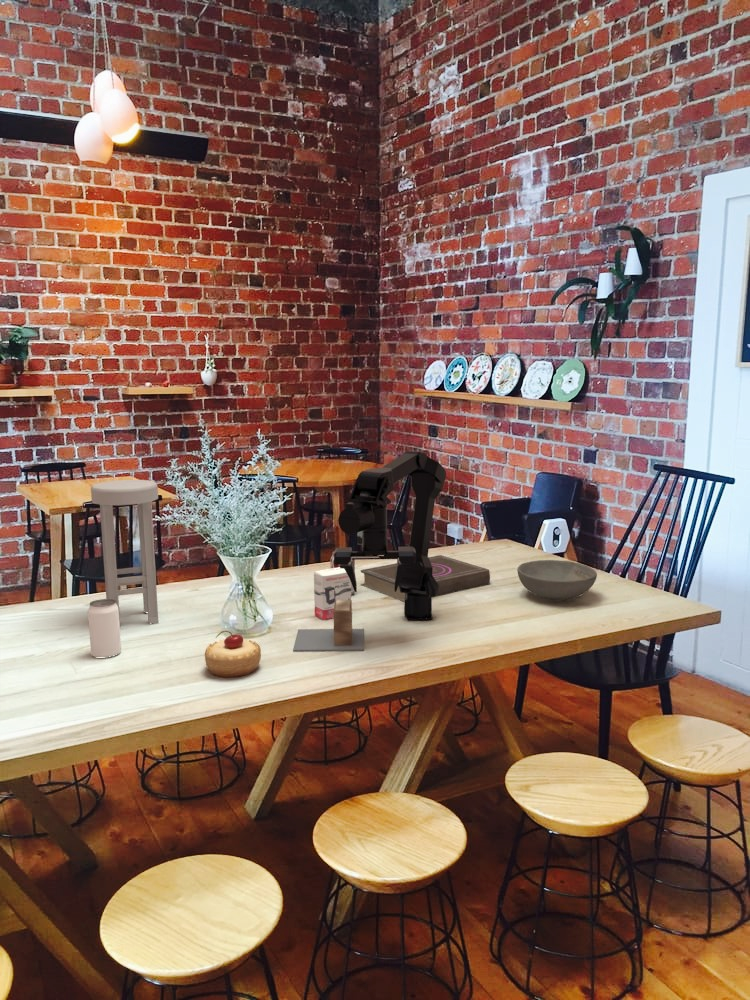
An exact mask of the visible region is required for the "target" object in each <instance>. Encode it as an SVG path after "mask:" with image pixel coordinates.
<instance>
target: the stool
mask: <svg viewBox="0 0 750 1000" xmlns="http://www.w3.org/2000/svg"><path fill="white" fill-rule="evenodd" d="M158 490H159V489H158V484H157V483H156V482H155V481H154V480H148V479H147V480H146V479H122V480H121V479H120V480H117V479H116V480H110V481H103V482H98V483H95V484H91V486H90V494H91V496H90V498H91V502H92V504H95V505H99V509H100V524H101V538H102V539H101V540H102V556H103V567H104V568H103V569H104V570H103V571H104V583H105V584H104V585H105V599H114V600H116V604H117V606H118V609H119V610H120V600H119V597H120V596H127V595H136V594H137V595H138V594H142V597H143V598H142V599H143V601H142V602H143V612H144V611H145V612H148V614H147V619H148V621H149V622H148V621H147V622H148V624H149V623H158V624H159V609H158V592H157V591H158V589H157V576H156V575H157V574H156V573H157V572H156V571H157V570H156V557H155V539H154V520H153V502H154V501H156V500H158V499H159V491H158ZM127 505H128V506H129V505H130V506H131V505H137V515H138V531H139V532H138V534H139V550H140V566H136V567H135V566H133V567H125V568H117V556H116V555H117V553H116V541H115V540H116V538H115V524H114V510H113V509H114V507H113V506H127ZM134 573H135V574H136V573H141V575H134V576H123V577H118V575H125V574H134ZM132 585H142V587H136V588H135V587H134V588H124V589H119V587H121V586H122V587H123V586H124V587H125V586H132ZM119 623H120V624H121V617H120V613H119Z"/></svg>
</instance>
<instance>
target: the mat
mask: <svg viewBox="0 0 750 1000" xmlns="http://www.w3.org/2000/svg"><path fill="white" fill-rule="evenodd" d="M364 651H365V628H352V645H340V646H334V628H310V629H308V628H303V629H302V628H301V629H298V630H297V633H296V637H295V642H294V645H293V649H292V652H293V653H295V652H299V653H300V652H364Z"/></svg>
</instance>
